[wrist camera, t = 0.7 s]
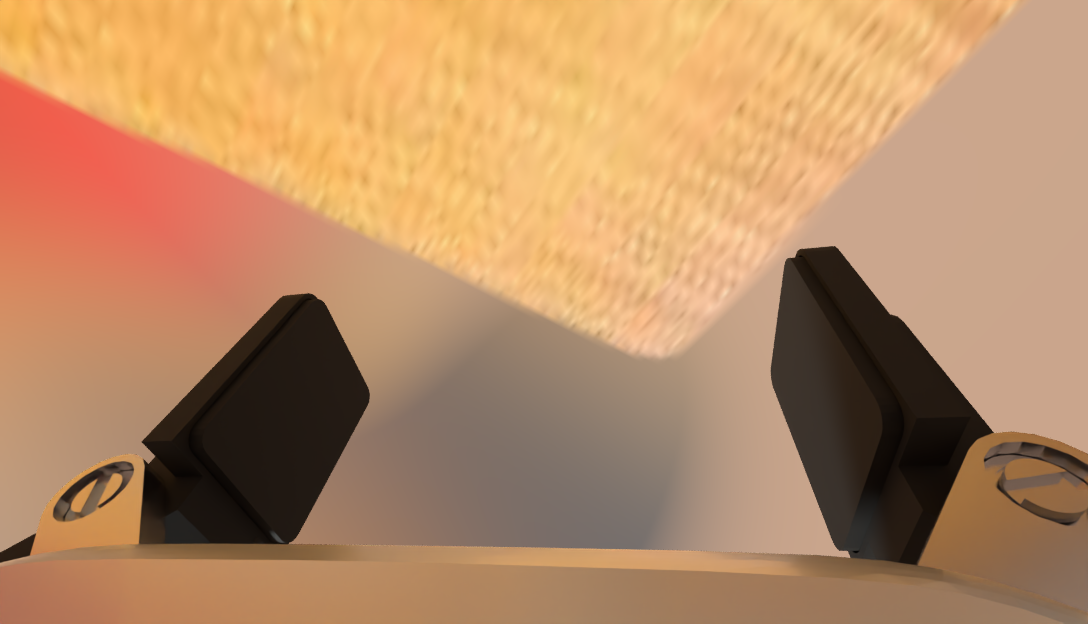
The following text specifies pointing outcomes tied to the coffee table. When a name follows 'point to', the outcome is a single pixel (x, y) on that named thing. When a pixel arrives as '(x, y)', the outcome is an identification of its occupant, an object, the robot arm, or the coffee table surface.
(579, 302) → the coffee table surface
